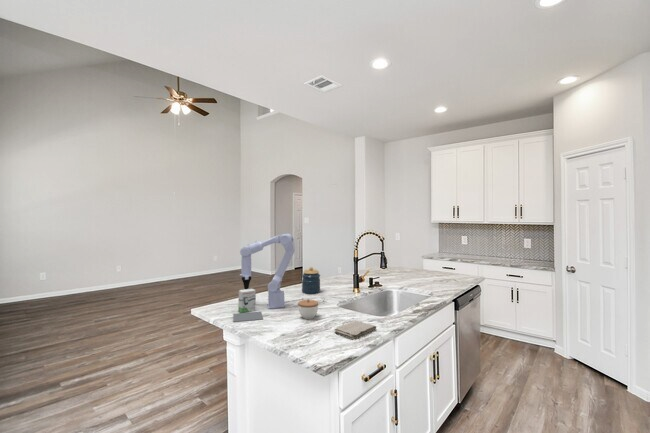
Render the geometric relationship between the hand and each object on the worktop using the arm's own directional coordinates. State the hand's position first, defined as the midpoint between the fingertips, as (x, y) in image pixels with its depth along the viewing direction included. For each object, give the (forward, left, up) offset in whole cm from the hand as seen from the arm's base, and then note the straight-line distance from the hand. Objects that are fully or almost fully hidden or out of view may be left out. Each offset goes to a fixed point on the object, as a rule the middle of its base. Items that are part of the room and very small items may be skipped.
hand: (246, 289), depth 187 cm
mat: (0, +21, -10) cm, 23 cm away
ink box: (0, +10, -10) cm, 14 cm away
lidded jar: (-31, +30, -10) cm, 44 cm away
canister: (-45, -21, -10) cm, 51 cm away
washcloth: (-47, +56, -11) cm, 74 cm away
